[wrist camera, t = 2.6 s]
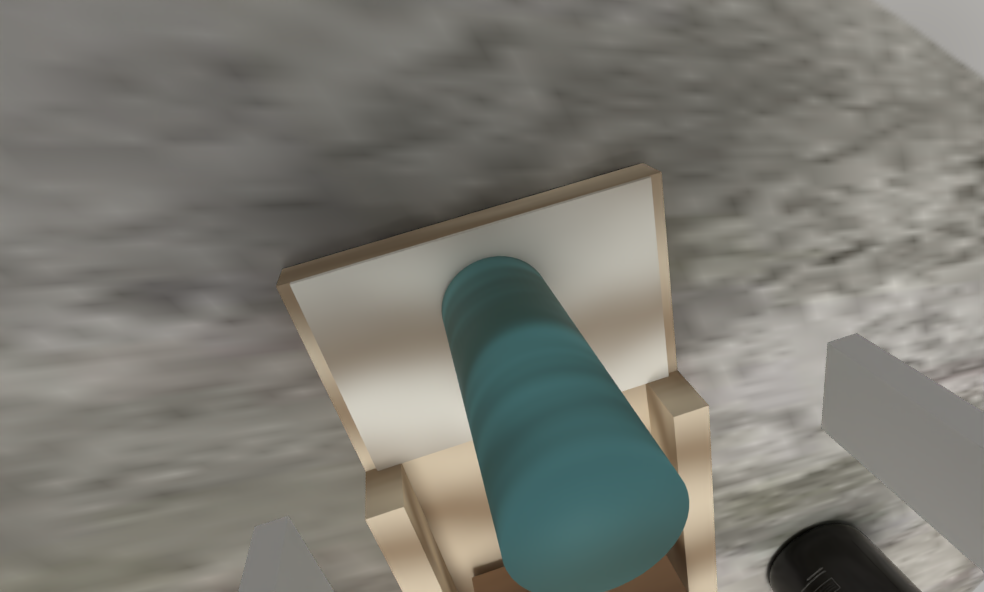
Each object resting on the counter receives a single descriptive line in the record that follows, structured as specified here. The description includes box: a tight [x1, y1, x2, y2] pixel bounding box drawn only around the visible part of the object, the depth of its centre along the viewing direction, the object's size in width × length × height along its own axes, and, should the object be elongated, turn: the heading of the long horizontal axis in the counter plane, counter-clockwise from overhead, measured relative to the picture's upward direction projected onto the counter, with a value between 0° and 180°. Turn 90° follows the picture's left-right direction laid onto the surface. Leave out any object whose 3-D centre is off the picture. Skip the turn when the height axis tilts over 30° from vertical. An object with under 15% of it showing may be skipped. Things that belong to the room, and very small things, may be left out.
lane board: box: [276, 163, 717, 592], centre depth 23 cm, size 26×14×6 cm, turn 13°
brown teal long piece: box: [441, 256, 689, 592], centre depth 20 cm, size 23×9×10 cm, turn 13°
